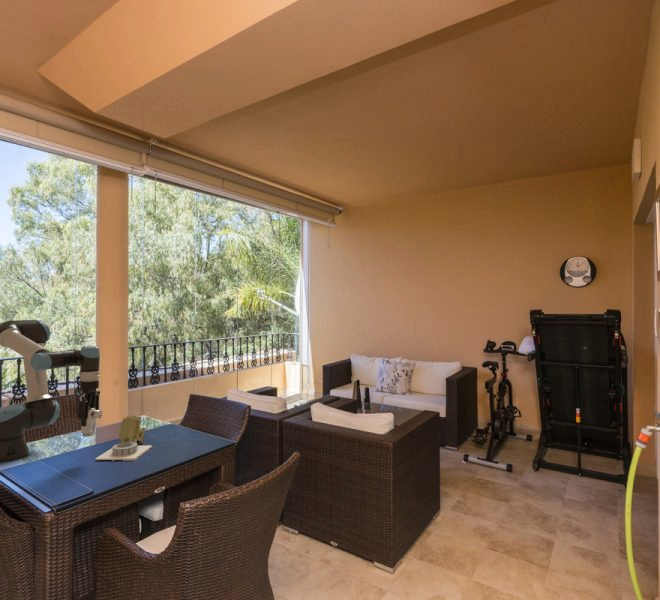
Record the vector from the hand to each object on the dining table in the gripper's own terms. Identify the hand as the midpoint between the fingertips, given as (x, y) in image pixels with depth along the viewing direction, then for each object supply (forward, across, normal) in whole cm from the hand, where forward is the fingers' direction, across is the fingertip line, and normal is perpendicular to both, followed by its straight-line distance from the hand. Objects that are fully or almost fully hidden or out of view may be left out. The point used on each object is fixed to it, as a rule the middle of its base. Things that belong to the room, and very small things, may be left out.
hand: (88, 430), depth 189 cm
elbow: (+2, 0, -1) cm, 2 cm away
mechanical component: (+14, +22, -11) cm, 28 cm away
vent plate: (+13, +7, -14) cm, 20 cm away
